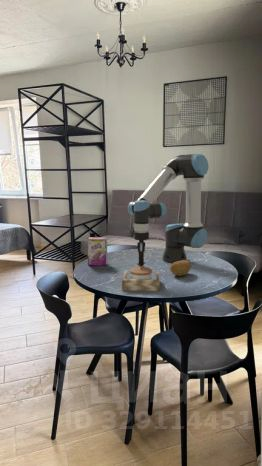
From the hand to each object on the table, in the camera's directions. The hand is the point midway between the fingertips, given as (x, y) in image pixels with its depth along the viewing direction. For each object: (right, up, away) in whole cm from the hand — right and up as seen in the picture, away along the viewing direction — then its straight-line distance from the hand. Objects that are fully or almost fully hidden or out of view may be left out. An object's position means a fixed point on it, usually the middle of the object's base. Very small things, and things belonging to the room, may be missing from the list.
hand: (141, 276), depth 164 cm
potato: (+22, 0, +8) cm, 23 cm away
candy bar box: (-25, +3, +28) cm, 38 cm away
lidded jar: (0, -3, -8) cm, 9 cm away
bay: (0, -3, -8) cm, 9 cm away
